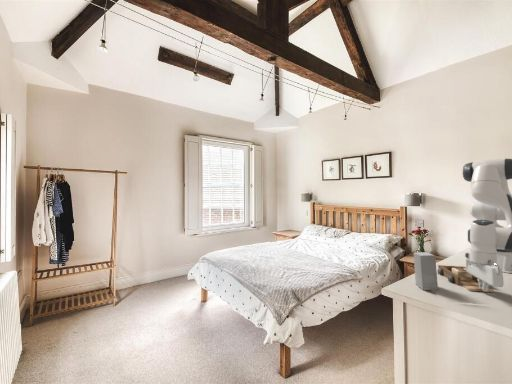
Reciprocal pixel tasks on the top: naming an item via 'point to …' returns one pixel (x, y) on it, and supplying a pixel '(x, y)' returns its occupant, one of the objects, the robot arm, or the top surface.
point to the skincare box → (425, 271)
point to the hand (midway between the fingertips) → (483, 290)
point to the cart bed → (456, 276)
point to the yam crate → (462, 273)
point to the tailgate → (476, 288)
